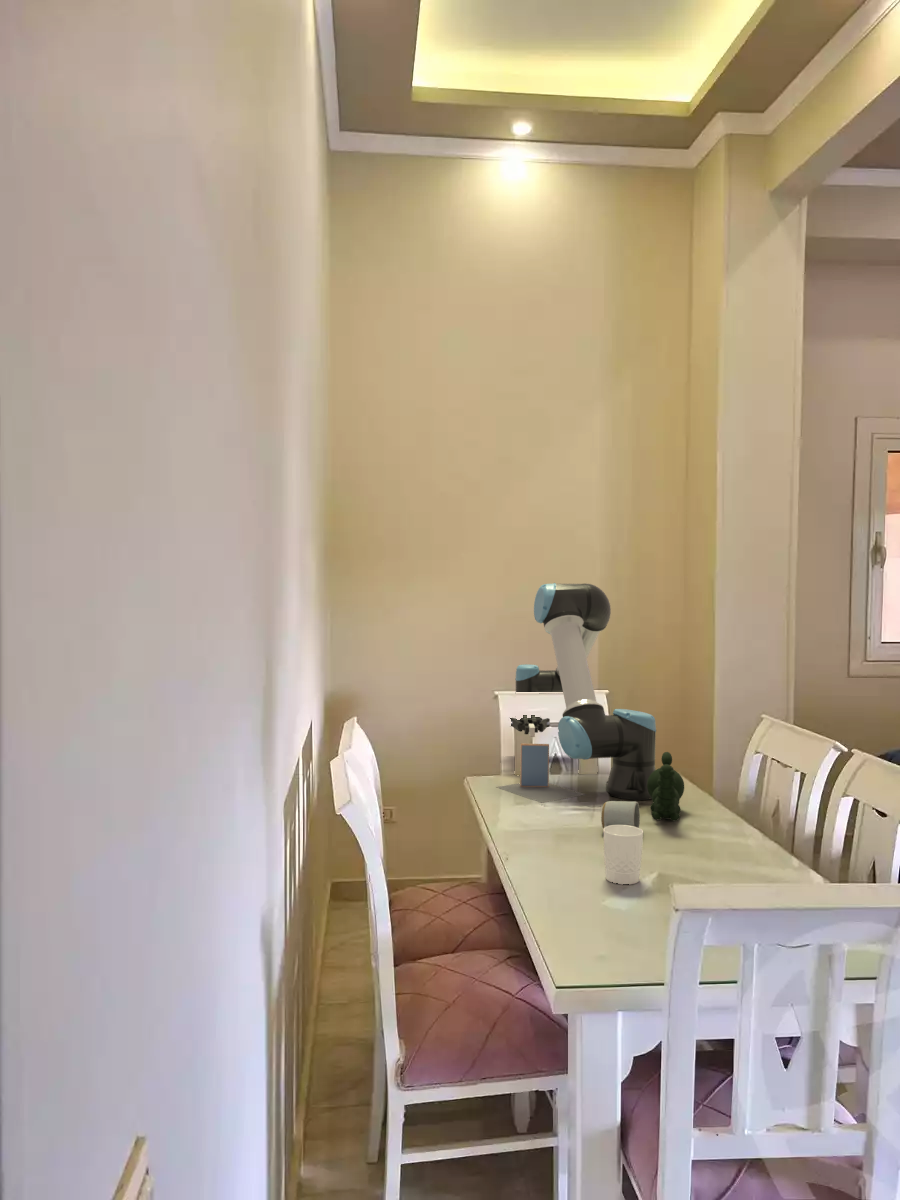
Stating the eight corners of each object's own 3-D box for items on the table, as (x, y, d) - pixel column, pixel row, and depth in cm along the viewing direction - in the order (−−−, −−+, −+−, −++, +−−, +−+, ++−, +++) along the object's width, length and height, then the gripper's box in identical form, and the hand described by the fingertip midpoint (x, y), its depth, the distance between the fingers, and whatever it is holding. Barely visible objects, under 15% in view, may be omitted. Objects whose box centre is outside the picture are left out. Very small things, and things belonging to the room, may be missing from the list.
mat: (586, 797, 246) (586, 794, 246) (541, 805, 237) (541, 802, 237) (539, 782, 262) (539, 780, 262) (495, 789, 253) (495, 787, 253)
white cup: (614, 870, 186) (615, 822, 186) (649, 878, 181) (650, 829, 181) (595, 879, 180) (596, 830, 180) (630, 889, 175) (631, 838, 175)
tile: (520, 785, 256) (520, 743, 255) (548, 785, 255) (548, 743, 255) (520, 786, 254) (520, 744, 254) (548, 787, 254) (549, 745, 253)
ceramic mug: (606, 826, 218) (606, 795, 218) (640, 830, 215) (640, 798, 215) (597, 839, 208) (597, 806, 208) (632, 843, 205) (632, 810, 205)
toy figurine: (685, 836, 216) (682, 801, 241) (687, 760, 214) (684, 732, 238) (645, 833, 218) (647, 798, 243) (647, 757, 216) (648, 730, 240)
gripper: (548, 729, 286) (554, 745, 262) (507, 729, 286) (509, 744, 263) (548, 706, 285) (554, 720, 262) (507, 705, 286) (510, 719, 262)
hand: (532, 732), depth 262 cm, fingers closed
